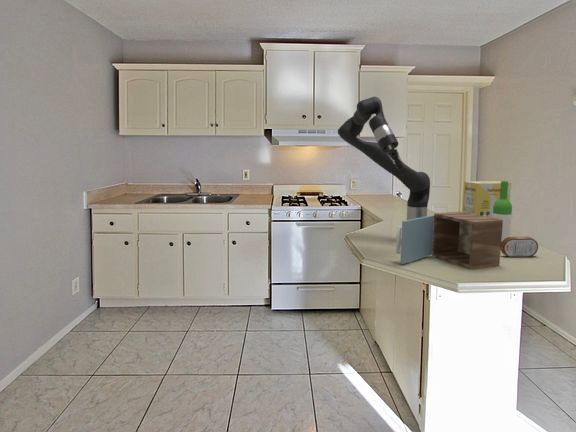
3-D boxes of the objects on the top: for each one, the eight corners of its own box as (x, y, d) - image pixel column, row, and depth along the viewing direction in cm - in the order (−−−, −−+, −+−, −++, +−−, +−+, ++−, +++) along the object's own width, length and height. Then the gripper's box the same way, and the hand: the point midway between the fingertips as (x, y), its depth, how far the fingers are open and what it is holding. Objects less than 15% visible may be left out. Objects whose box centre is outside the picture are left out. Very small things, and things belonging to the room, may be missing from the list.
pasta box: (492, 235, 232) (496, 181, 227) (506, 240, 222) (511, 182, 217) (460, 237, 227) (464, 181, 223) (473, 241, 217) (477, 183, 213)
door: (419, 252, 193) (421, 214, 190) (431, 254, 189) (434, 215, 186) (390, 260, 179) (392, 219, 176) (403, 263, 174) (405, 221, 172)
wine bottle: (491, 244, 212) (496, 180, 208) (509, 246, 208) (515, 181, 203) (488, 247, 206) (493, 181, 201) (507, 249, 202) (513, 182, 197)
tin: (534, 255, 191) (536, 236, 190) (538, 257, 188) (540, 237, 187) (499, 255, 191) (500, 236, 190) (502, 257, 188) (504, 237, 186)
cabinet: (431, 255, 190) (434, 213, 187) (458, 252, 195) (460, 211, 192) (471, 269, 170) (474, 222, 167) (499, 265, 175) (503, 219, 172)
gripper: (380, 148, 196) (396, 180, 191) (374, 137, 183) (391, 171, 178) (396, 140, 194) (413, 172, 189) (391, 128, 181) (409, 162, 176)
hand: (402, 171), depth 183 cm, fingers open, 8 cm apart
